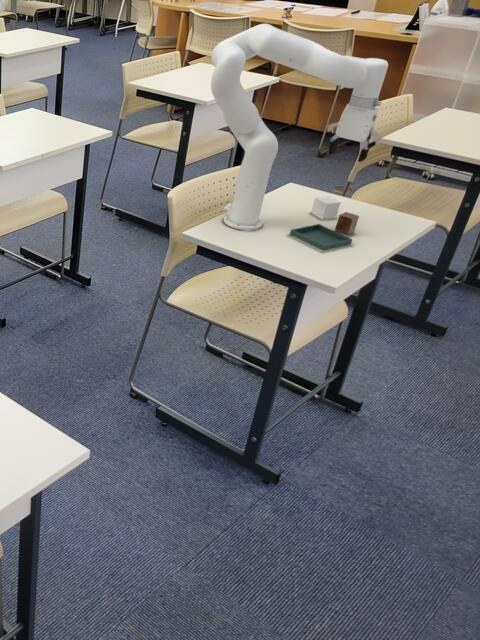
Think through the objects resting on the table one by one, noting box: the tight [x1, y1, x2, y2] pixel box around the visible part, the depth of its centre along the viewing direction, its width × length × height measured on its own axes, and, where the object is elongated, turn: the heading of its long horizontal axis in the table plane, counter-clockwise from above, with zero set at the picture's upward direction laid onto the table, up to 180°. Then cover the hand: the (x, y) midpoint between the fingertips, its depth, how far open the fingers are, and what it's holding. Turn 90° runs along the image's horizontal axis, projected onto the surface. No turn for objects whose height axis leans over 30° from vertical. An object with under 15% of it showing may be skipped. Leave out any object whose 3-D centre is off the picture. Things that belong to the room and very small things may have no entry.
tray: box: [289, 223, 353, 252], centre depth 227 cm, size 14×13×2 cm
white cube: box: [310, 195, 341, 220], centre depth 245 cm, size 6×6×6 cm
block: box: [334, 211, 360, 237], centre depth 232 cm, size 5×5×6 cm
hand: (346, 157), depth 224 cm, fingers open, 9 cm apart
